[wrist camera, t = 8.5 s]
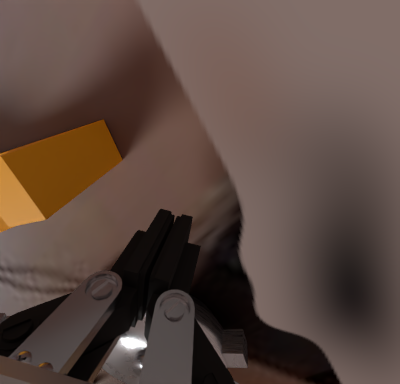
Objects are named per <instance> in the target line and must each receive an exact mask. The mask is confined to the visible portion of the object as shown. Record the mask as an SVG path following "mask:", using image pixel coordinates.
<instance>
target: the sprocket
mask: <svg viewBox="0 0 400 384" xmlns="http://www.w3.org/2000/svg"><path fill="white" fill-rule="evenodd" d="M194 307H195V315H194V317H195V319H196V320H197V322H198V324H199V325H200V327H201V328H202V330H203V331H204V333H205V335H206V336H207V338H208V339H209V341H210V342H211V344H212V346H213V347H214V349H215V350H216V352H217V354H218V355H219V357H220V358H221V360H222V361H223V363H224V365H225V366H226V368H227V367H231V368H248V358H247V341H246V338H245V335H244V332H243V329H223V327H222V326H221V324H220V323H219V322H218V321H217V319H216V318H215V317H214V316H213V315H211V314H210V313H209V312H208V311H207V310H205V309H204V308H203V307H201V306H199V305H198V304H196V303H194ZM145 319H146V313H145V316H144V318H143V320H142V321H140V320H138V321H137V324H136V326H135V328H134V327H130V329H129V331H127V332H125V333H123V334H121V337H120V339H119V341H118V343H117V344H116V346H115V347H114V349H113V351H112V352H111V354H110V355H109V357H108V359H107V360H106V362H105V363H104V365H103V367H102V368H103V369H104V370H105V371H106V372H108V373H109V374H111V375H112V376H113V377H115V378H117V379H118V380H120V381H122V382H124V383H126V384H139V380H140V375H141V370H142V366H143V361H144V356H145V351H146V347H147V341H146V338H145V336H144V329H145Z"/></svg>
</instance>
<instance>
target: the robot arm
mask: <svg viewBox="0 0 400 384" xmlns="http://www.w3.org/2000/svg"><path fill="white" fill-rule="evenodd" d="M174 217H175V216H174V215H172V214H171V211H167V210H163V209H160V210H159V212H158V213H157V215H156V217H155V218H154V220H153V222H152V223H151V225H150V226H149V228H148V230H147V231H146V232H144V231H140V230H138V231H137V232H136V233H135V235H134V236H133V238H132V239H131V241H130V242H129V244H128V245H127V246H126V248H125V249H124V251H123V252H122V254H121V255H120V257H119V258H118V260H117V261H116V263H115V264H114V266H113V267H112V269H111V270H110V271H100V272H96V273H94V274H92V275H90V276H89V277H88V278H86V279H85V280H84V281H83V282H82V283H81V284H80V285H79V286H78V287H77V288H76V289H75V290H74V291H73V292H72V293H70V294H67V295H64V296H61V297H59V298H56V299H53V300H51V301H48V302H45V303H43V304H40V305H37V306H34V307H32V308H29V309H26V310H24V311H21V312H18V313H16V314H14V315H12V316H6V314H5V313H0V384H92V383H93V381H94V379H95V378H96V376H97V375H98V373H99V371H100V370H101V368H102V367H103V365H104V363H105V362H106V360H107V359H108V357H109V355H110V354H111V352H112V351H113V349H114V347H115V346H116V344H117V343H118V341H119V339H120V337H121V334H123V333H125V332H127V331H129V329H130V327H134V328H135V326H136V324H137V321H138V320H140V321H142V320H143V318H144V316H145V313H146V319H145V329H144V336H145V338H146V341H147V347H146V351H145V356H144V361H143V366H142V370H141V375H140V380H139V384H239V383H237V382H236V381H234V380H233V378H232V376H231V374H230V373H229V371H228V369H227V368H226V366H225V365H224V363H223V361H222V360H221V358H220V357H219V355H218V354H217V352H216V350H215V349H214V347H213V346H212V344H211V342H210V341H209V339H208V338H207V336H206V335H205V333H204V331H203V330H202V328H201V327H200V325H199V324H198V322H197V320H196V319H195V317H194V315H195V307H194V302H193V300H192V298H191V297H190V296H189V292H190V288H191V284H192V280H193V276H194V271H195V267H196V263H197V259H198V255H199V251H200V247H201V246H198V245H194V244H191V243H188V239H189V234H190V229H191V224H192V218H193V217H191V216H187V215H183V214H182V216H181V217H180V216H177V218H176V220H175V222H174Z"/></svg>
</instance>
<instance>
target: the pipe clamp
mask: <svg viewBox="0 0 400 384" xmlns="http://www.w3.org/2000/svg"><path fill="white" fill-rule="evenodd" d="M121 161H122V158H121V155H120V153H119V151H118V149H117V147H116V145H115V143H114V141H113V138H112V136H111V134H110V132H109V130H108V128H107V126H106V124H105V122H104V119H103V120H100V121H97V122H94V123H91V124H88V125H85V126H81V127H78V128H75V129H72V130H69V131H66V132H63V133H60V134H57V135H54V136H51V137H48V138H45V139H42V140H39V141H36V142H33V143H30V144H27V145H24V146H21V147H18V148H15V149H12V150H9V151H6V152H3V153H0V232H2V231H5V230H7V229H10V228H12V227H15V226H18V225H23V224H27V223H32V222H37V221H42V220H46V219H48V218H49V217H50V216H52V215H53V214H54V213H55V212H57V211H58V210H59V209H61V208H62V207H63V206H64V205H66V204H67V203H68V202H70V201H71V200H72V199H73V198H75V197H76V196H77V195H79V194H80V193H81V192H82V191H84V190H85V189H86V188H88V187H89V186H90V185H91V184H93V183H94V182H95V181H97V180H98V179H99V178H100V177H102V176H103V175H104V174H106V173H107V172H108V171H109V170H111V169H112V168H113V167H115V166H116V165H117V164H118V163H120V162H121Z"/></svg>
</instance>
